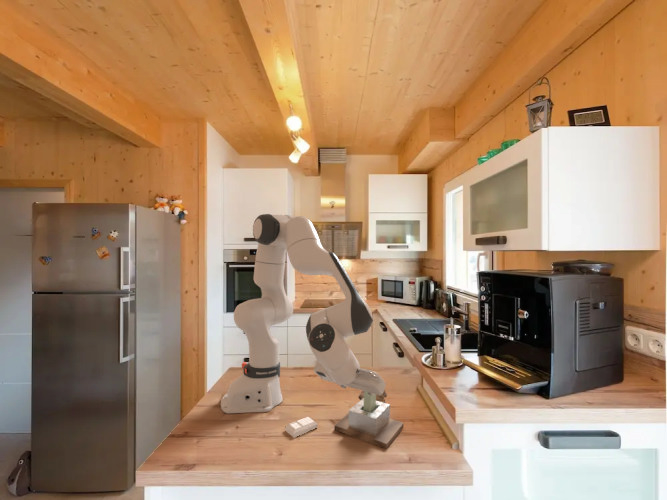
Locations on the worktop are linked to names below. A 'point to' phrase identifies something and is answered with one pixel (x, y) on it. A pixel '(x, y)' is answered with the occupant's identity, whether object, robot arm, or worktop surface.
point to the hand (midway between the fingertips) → (358, 389)
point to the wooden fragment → (378, 397)
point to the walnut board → (381, 439)
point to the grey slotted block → (369, 418)
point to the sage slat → (369, 402)
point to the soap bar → (301, 427)
